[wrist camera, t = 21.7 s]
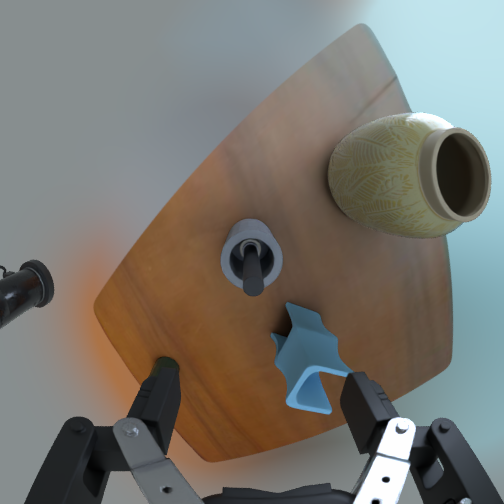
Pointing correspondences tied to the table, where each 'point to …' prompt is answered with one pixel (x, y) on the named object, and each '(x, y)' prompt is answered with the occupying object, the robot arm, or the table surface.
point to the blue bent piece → (307, 359)
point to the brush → (251, 267)
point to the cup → (268, 256)
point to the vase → (410, 176)
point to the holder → (163, 365)
